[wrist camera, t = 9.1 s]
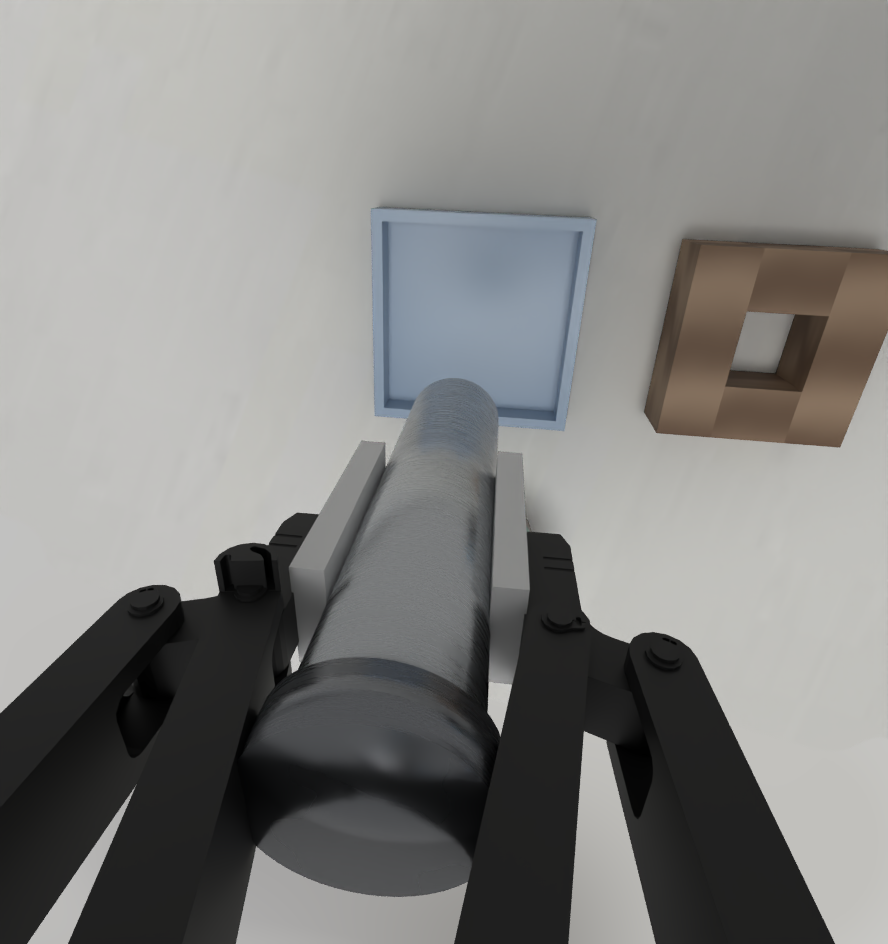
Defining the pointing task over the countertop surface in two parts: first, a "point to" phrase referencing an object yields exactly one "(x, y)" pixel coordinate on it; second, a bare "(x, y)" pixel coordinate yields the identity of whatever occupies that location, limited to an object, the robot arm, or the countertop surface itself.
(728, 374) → the socket block
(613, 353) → the countertop surface
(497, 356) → the tray
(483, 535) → the pin
